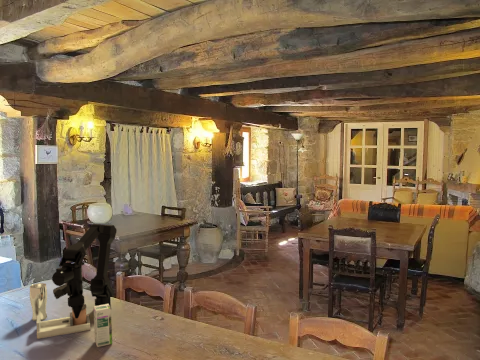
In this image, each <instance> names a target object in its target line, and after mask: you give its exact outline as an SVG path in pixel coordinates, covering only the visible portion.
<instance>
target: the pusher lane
mask: <svg viewBox="0 0 480 360" xmlns="http://www.w3.org/2000/svg"><path fill="white" fill-rule="evenodd" d="M89 315H90V314H89V313H86V318H87V324H81V325H75V326H70V316H69V317H62V318H56V319H55V318H54V319H49V320H42V321H41V318H40V315H38V316H37V321H36V338H37V340H38V339H39V340H40V339H45V338H50V337H56V336H57V337H58V336H63V335H69V334H75V333H79V332H86V331H91V321H90V316H89ZM64 320H69V322H68V323H62V321H64Z"/></svg>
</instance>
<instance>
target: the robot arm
mask: <svg viewBox="0 0 480 360" xmlns="http://www.w3.org/2000/svg"><path fill="white" fill-rule="evenodd" d="M116 234H117V228H116V225H113V224H101V223H91V224H90V226H89V228H88V229H87V231H86V232H85V233H84V234H83V235H82V236H81V237H80V238H79V240H78V241H76V242H75V243H73V244H72V245H69V246H68V247H67V248H66V249H65V250H64V251H63V255H62V257H61V260H60V261H59V265H58V267H57V268H56V269H55V272H54V273H53V274H52V277H51V281H52V283H53V284H54V285H55V286H57V287H55V288H54V289H52V294H53V296H54V298H55V299H56V300H58V299H60V298H61V297H64V296H66V295H67V296H68V297H67V306H68V307H70V308H71V309H72V308H73V312H74V315H75V318H78V317H79V315H80V312H81V310H82V307H83V305H84V304H85V295H83V294H84V287H83V286H84V285H83V282H84V281H83V267H82V266H84V265H85V262H84V261H83V260H84V259H85V257H86V255H87V250H88V248H89V247H90V246H91V245H92V244H93V242H94V241H95V240H96V239H97V240H98V242H99V247H98V256H97V266H96V273H95V276H94V277H93V278H91V279H90V284H89V291H90V293H91V297H94V306H99V305H105V304H109V305H110V308H111V309H112V305H111V298H113V296H114V293H115V289H114V288H113V287H112V285H111V280H110V278H109V276H108V273H109V271H108V270H109V263H110V256H111V255H110V254H111V248H112V247H111V245H112V243H113V242H114V241H115V239H116V236H117V235H116Z"/></svg>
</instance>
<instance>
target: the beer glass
mask: <svg viewBox="0 0 480 360" xmlns="http://www.w3.org/2000/svg"><path fill="white" fill-rule="evenodd" d="M47 301H48V289H47V284H46V283H44V282H39V283H34V284H31V285H30V286H29V302H30V305H31V309H32V317H31V320H32V321H33V322H37V316H38V315H40V318H41V321H46V319H48V314H47Z"/></svg>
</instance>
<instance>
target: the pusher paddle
mask: <svg viewBox="0 0 480 360" xmlns="http://www.w3.org/2000/svg"><path fill="white" fill-rule="evenodd" d="M69 317H70V326H73V317H72V311H71V312H69ZM68 322H69V320H64V321H62V323H68Z"/></svg>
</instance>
